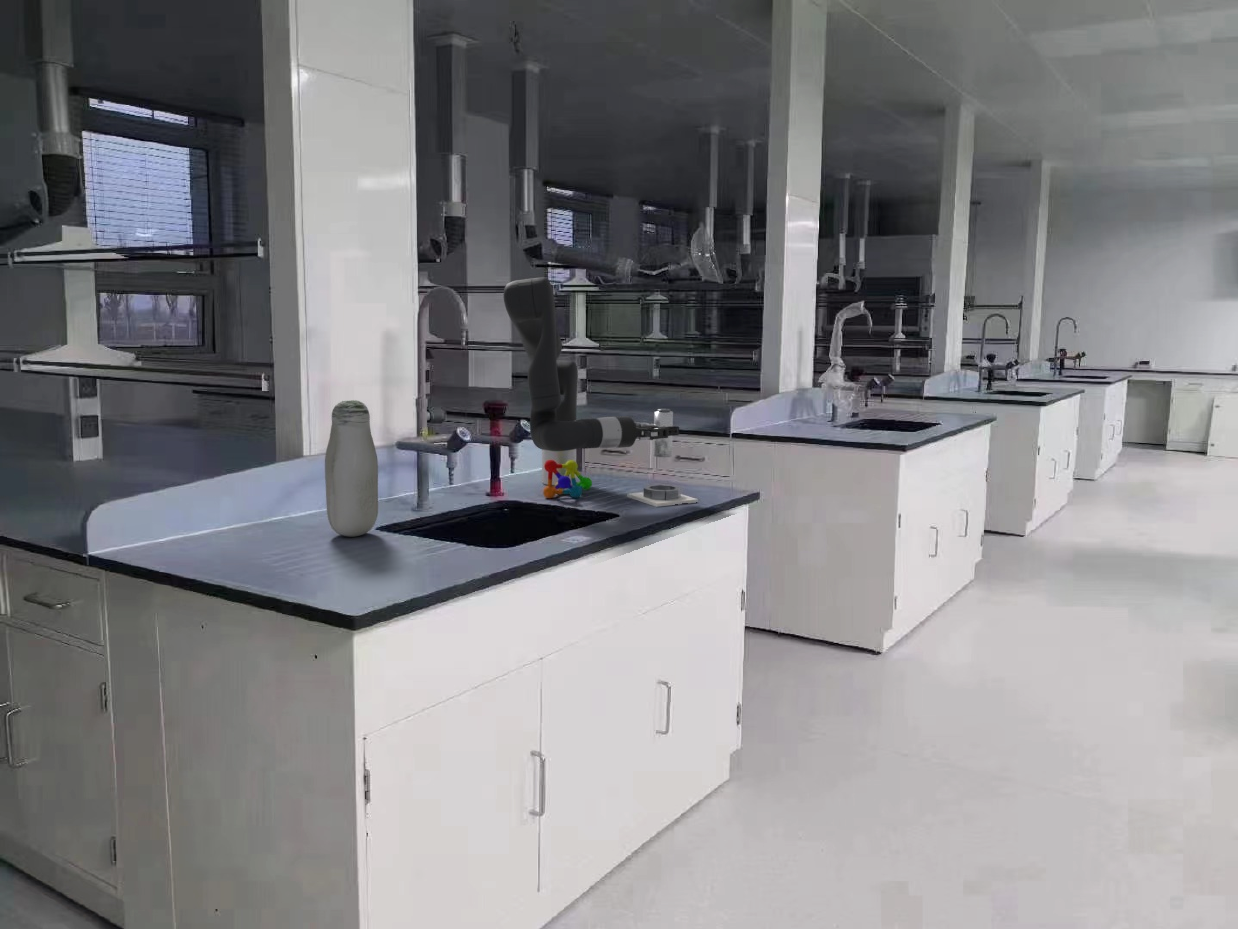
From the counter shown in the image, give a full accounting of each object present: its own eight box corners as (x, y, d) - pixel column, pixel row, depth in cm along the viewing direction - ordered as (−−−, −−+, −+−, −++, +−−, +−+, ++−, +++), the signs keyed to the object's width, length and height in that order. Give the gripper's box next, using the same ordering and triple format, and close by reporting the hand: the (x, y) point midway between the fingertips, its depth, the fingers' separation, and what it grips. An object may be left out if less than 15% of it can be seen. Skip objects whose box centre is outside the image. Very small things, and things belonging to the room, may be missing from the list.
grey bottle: (357, 542, 195) (353, 403, 190) (317, 537, 199) (312, 401, 195) (388, 533, 204) (385, 399, 199) (350, 527, 208) (345, 397, 203)
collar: (638, 494, 244) (638, 486, 244) (667, 492, 249) (667, 483, 248) (656, 501, 237) (656, 492, 237) (686, 498, 241) (686, 489, 241)
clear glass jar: (649, 455, 242) (650, 408, 240) (665, 454, 244) (666, 408, 242) (659, 457, 238) (660, 410, 236) (675, 456, 240) (676, 409, 238)
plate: (627, 496, 246) (627, 493, 246) (667, 492, 252) (667, 489, 252) (656, 506, 234) (656, 503, 234) (697, 502, 240) (697, 499, 240)
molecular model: (593, 513, 245) (561, 483, 235) (560, 516, 250) (527, 488, 240) (601, 474, 251) (571, 444, 240) (569, 478, 256) (537, 449, 245)
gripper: (627, 420, 226) (689, 417, 235) (598, 414, 239) (657, 411, 247) (627, 451, 227) (688, 448, 236) (598, 444, 240) (657, 440, 248)
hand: (672, 429), depth 241 cm, fingers closed on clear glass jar, 4 cm apart
